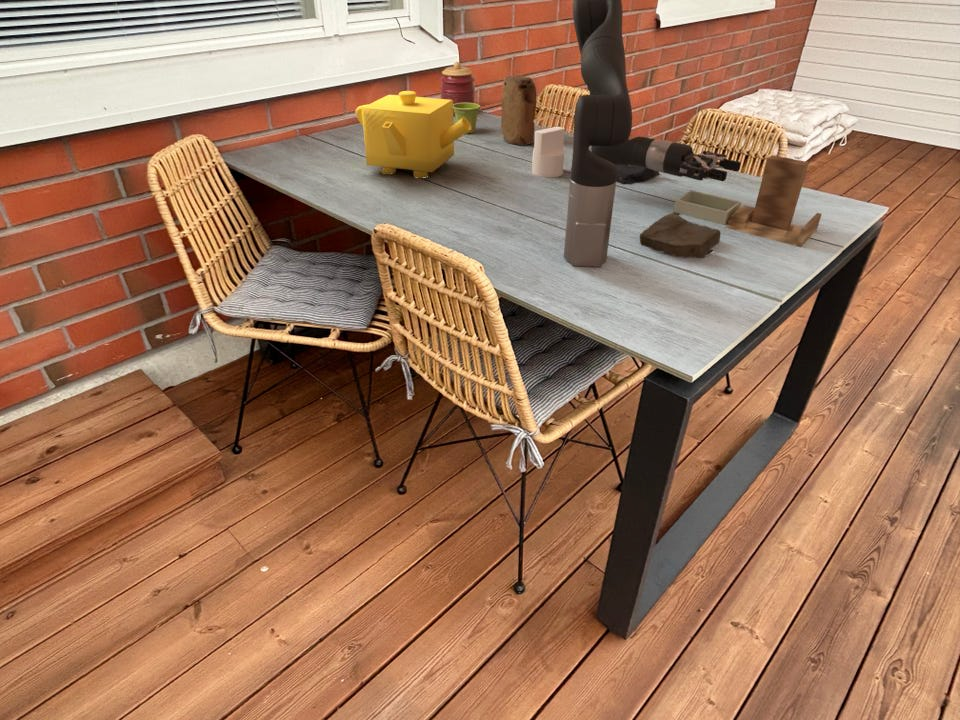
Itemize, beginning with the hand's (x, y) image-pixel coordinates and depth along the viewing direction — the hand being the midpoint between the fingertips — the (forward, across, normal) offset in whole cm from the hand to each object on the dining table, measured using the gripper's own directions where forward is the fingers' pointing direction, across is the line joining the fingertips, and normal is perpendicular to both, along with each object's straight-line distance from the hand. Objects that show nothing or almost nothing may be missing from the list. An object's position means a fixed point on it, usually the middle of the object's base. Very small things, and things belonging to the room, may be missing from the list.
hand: (733, 171), depth 151 cm
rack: (+11, 0, +12) cm, 16 cm away
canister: (-119, +40, +14) cm, 126 cm away
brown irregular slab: (-2, -20, +12) cm, 23 cm away
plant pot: (-99, +21, +14) cm, 102 cm away
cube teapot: (-85, -20, +13) cm, 88 cm away
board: (+11, 0, +11) cm, 16 cm away
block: (-78, +22, +13) cm, 82 cm away
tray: (-4, 0, +12) cm, 13 cm away
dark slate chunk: (-38, +17, +13) cm, 44 cm away
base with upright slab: (-53, +3, +13) cm, 55 cm away
